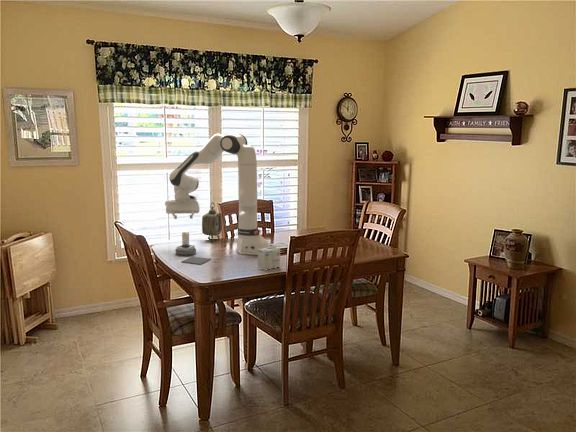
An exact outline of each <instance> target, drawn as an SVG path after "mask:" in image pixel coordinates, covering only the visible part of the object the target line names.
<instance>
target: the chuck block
mask: <svg viewBox="0 0 576 432" xmlns="http://www.w3.org/2000/svg"><path fill="white" fill-rule="evenodd" d="M195 246H196V245H193V244H189V247H188V248H186V247H182V244H181V245H178V246H176V248H175V250H174V252H175V255H176V256H180V257H192V256H195V255H196V254H197V248H196V247H195Z"/></svg>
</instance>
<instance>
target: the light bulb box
mask: <svg viewBox="0 0 576 432" xmlns="http://www.w3.org/2000/svg"><path fill="white" fill-rule="evenodd" d="M279 266H280V267H281V248H279V247H276V246H269V247H268V248H262V249H258V255H257V269H259V268H261V269H260V270H262V269H264V270H265V271H267V270H266V269H270V268H275V267H279ZM275 269H276V268H275ZM264 270H263V271H264ZM270 270H271V269H270Z"/></svg>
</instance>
